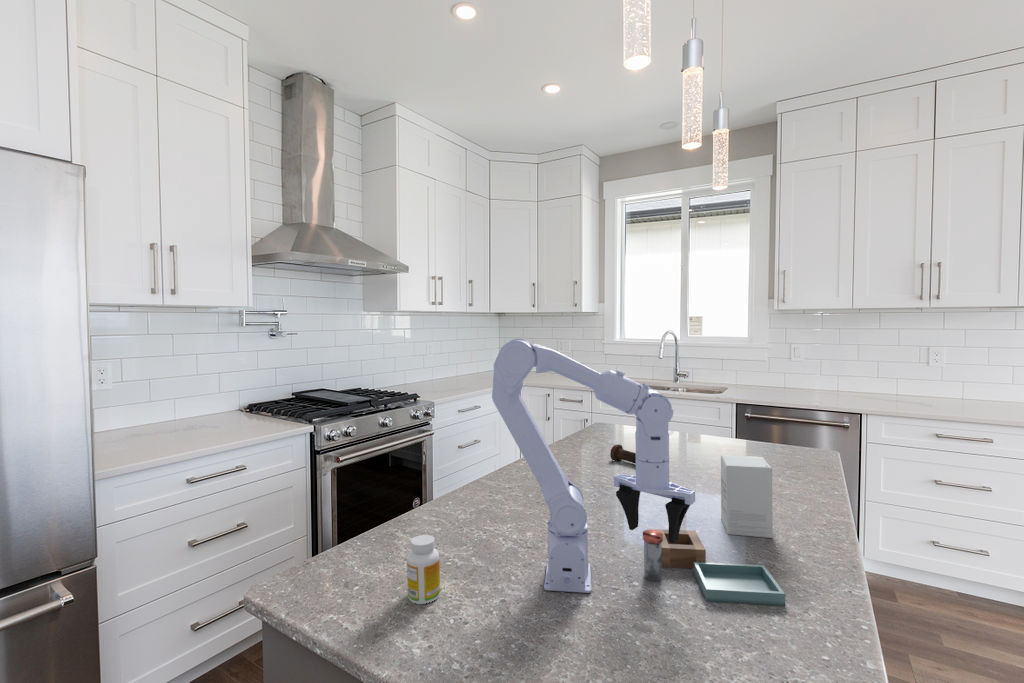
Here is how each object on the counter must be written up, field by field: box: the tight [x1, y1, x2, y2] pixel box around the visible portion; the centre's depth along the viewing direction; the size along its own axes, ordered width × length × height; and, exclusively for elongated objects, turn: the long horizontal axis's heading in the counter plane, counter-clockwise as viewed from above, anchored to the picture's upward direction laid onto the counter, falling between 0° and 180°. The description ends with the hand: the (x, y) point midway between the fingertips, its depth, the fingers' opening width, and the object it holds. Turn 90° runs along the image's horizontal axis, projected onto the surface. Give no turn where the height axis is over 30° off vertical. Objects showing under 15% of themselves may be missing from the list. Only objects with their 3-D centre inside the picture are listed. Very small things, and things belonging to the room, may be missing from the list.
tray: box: [692, 561, 786, 607], centre depth 82 cm, size 9×12×2 cm
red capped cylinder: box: [642, 529, 663, 583], centre depth 86 cm, size 3×3×8 cm
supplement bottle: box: [406, 534, 441, 605], centre depth 81 cm, size 5×5×10 cm
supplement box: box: [720, 454, 774, 539], centre depth 105 cm, size 9×9×15 cm
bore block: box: [653, 528, 707, 569], centre depth 93 cm, size 8×8×4 cm
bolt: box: [609, 444, 636, 465], centre depth 153 cm, size 6×5×15 cm
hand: (653, 534), depth 86 cm, fingers open, 7 cm apart
